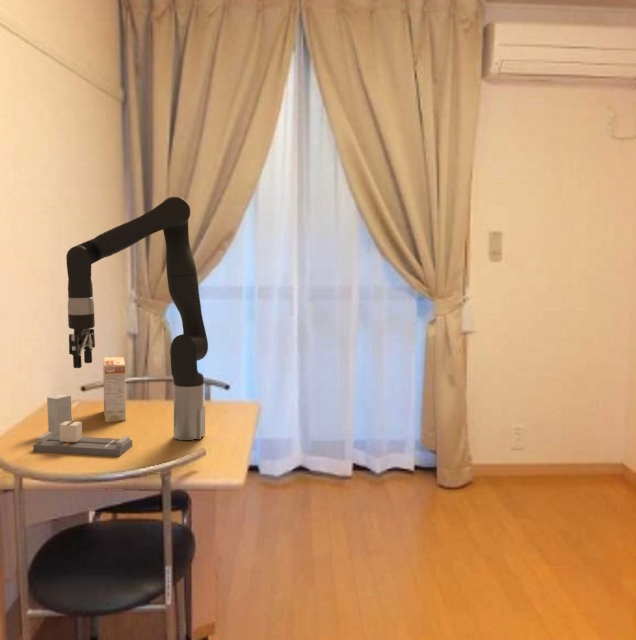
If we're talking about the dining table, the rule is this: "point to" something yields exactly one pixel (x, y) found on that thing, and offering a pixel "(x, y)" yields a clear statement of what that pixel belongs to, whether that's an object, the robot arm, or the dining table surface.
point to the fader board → (83, 445)
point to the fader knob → (70, 431)
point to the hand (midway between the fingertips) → (83, 365)
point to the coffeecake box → (114, 389)
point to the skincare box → (58, 412)
